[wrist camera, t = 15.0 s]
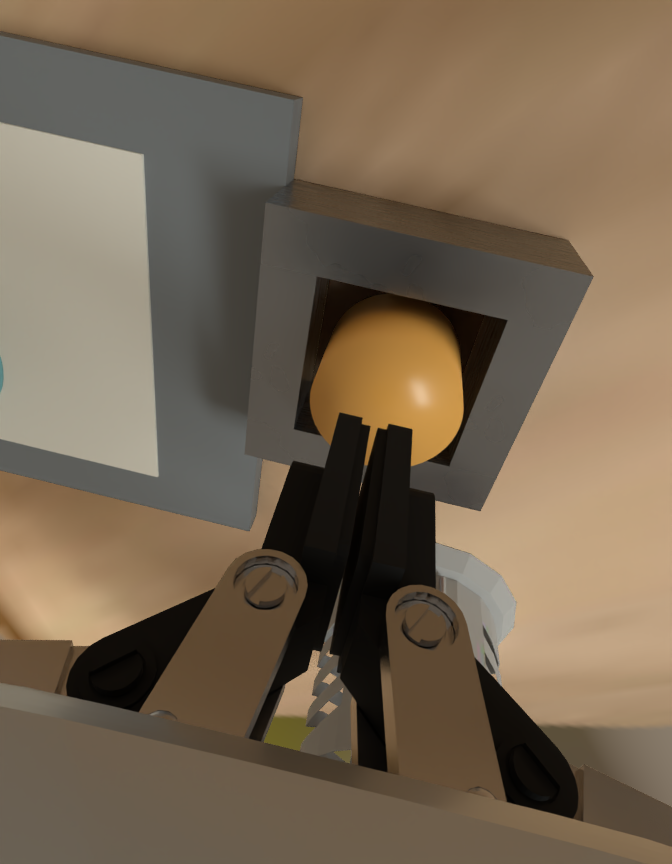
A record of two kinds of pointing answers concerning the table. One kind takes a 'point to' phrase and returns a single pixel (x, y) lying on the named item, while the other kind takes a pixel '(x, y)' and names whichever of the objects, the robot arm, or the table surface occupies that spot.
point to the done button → (392, 373)
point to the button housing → (420, 279)
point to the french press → (487, 625)
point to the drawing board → (133, 274)
